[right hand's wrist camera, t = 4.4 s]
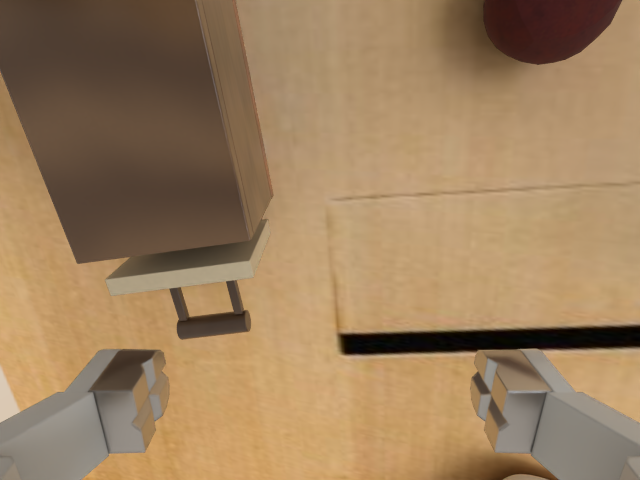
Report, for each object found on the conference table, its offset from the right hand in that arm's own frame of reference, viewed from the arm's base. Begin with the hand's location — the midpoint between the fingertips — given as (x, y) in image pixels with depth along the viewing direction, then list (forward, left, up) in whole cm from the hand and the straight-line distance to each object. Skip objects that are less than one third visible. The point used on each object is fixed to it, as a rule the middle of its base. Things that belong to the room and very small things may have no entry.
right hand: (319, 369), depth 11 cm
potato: (+3, -18, -23) cm, 29 cm away
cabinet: (+12, +5, -23) cm, 27 cm away
